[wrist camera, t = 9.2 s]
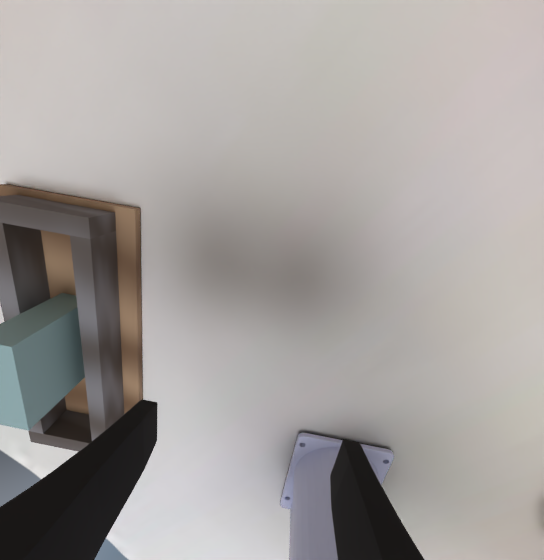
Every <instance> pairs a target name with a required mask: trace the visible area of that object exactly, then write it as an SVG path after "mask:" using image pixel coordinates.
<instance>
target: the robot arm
mask: <svg viewBox="0 0 544 560" xmlns="http://www.w3.org/2000/svg"><path fill="white" fill-rule="evenodd" d="M156 441H157V402H152V401H147V400H140V401H139V402H138V403H137V404H135V405H134V406H133V407H132V408H131V409H130V410H129V411H127V412H126V413H125V414H124V415H123V416H122V417H121V418H119V419H118V420H117V421H116V422H115V423H114V424H112V425H111V426H110V427H109V428H108V429H106V430H105V431H104V432H103V433H102V434H100V435H99V436H98V437H97V438H95V439H94V440H93V441H92V442H90V443H89V444H88V445H87V446H86V447H84V448H83V449H82V450H80V451H79V452H78V453H77V454H75V455H74V456H73V457H71V458H70V459H69V460H67V461H66V462H65V463H63V464H62V465H61V466H59V467H58V468H57V469H55V470H54V471H53V472H51V473H50V474H48V475H47V476H46V477H44V478H43V479H41V480H40V481H39V482H37V483H36V484H34V485H33V486H31V487H30V488H29V489H27V490H26V491H24V492H22V493H21V494H19V495H18V496H16V497H15V498H13V499H12V500H10V501H9V502H7V503H6V504H4V505H3V506H1V507H0V560H94V559H95V557H96V555H97V553H98V551H99V549H100V547H101V546H102V544H103V542H104V540H105V538H106V536H107V535H108V533H109V531H110V529H111V528H112V526H113V524H114V522H115V521H116V519H117V517H118V515H119V513H120V512H121V510H122V508H123V506H124V505H125V503H126V501H127V499H128V498H129V496H130V494H131V492H132V490H133V489H134V487H135V485H136V483H137V481H138V480H139V478H140V476H141V474H142V472H143V471H144V469H145V466H146V464H147V462H148V460H149V457H150V455H151V453H152V451H153V448H154V446H155V444H156ZM393 459H394V455H393V452H392V451H391V450H389V449H384V448H379V447H374V446H369V445H364V444H360V443H359V442H354V441H349V440H344V439H343V440H339V439H334V438H329V437H324V436H319V435H314V434H309V433H300V434H298V436H297V440H296V444H295V448H294V451H293V455H292V459H291V462H290V466H289V470H288V474H287V477H286V481H285V485H284V488H283V492H282V496H281V500H280V505H281V507H283V508H287V509H291V510H290V548H289V560H424V558H423V557H422V555H421V554H420V552H419V550H418V549H417V547H416V546H415V544H414V542H413V541H412V539H411V537H410V536H409V534H408V532H407V531H406V529H405V527H404V526H403V524H402V522H401V520H400V519H399V517H398V515H397V513H396V512H395V510H394V508H393V506H392V504H391V503H390V501H389V499H388V497H387V495H386V494H385V492H384V490H383V488H382V486H381V485H382V483H383V480H384V478H385V476H386V474H387V472H388V470H389V467H390V465H391V463H392V461H393Z"/></svg>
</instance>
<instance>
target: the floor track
mask: <svg viewBox="0 0 544 560" xmlns="http://www.w3.org/2000/svg"><path fill="white" fill-rule="evenodd" d="M61 293H65V294H70V295H75V296H76V298H77V307H78V317H79V326H80V335H81V344H82V354H83V363H84V372H85V378H83V379H82V380H81V381H80V382H79V383H78V384H77V385H76V386H75V387H74V388H73V389H72V390H71V391H70V392H69V393H68V394H67V395H66V396H65V397H63V398H62V399H61V400H60V401H59V402H58V403H57V404H56V405H55V406H54V407H53V408H52V409H51V410H50V411H49V412H48V413H47V414H46V415H45V416H43V417H42V418H41V419H40V420H39V421H38V422H37V423H36V424H35V425H34V426H33V427H32V428H31V429H30V430H29V435H30V439H31V442H35V443H40V444H45V445H50V446H54V447H59V448H64V449H69V450H74V451H80V450H82V449H83V448H84V447H86V446H87V445H88V444H89V443H90V442H92V441H93V440H94V439H95V438H97V437H98V436H99V435H100V434H102V433H103V432H104V431H105V430H106V429H108V428H109V427H110V426H111V425H112V424H114V423H115V422H116V421H117V420H118V419H119V418H121V417H122V416H123V415H124V414H125V413H126V412H127V411H129V410H130V409H131V408H132V407H133V406H134V405H135V404H137V403H138V402H139V401H140V400H143V389H142V310H141V232H140V208H136V207H130V206H124V205H119V204H113V203H108V202H102V201H97V200H91V199H85V198H80V197H74V196H69V195H63V194H58V193H52V192H46V191H41V190H35V189H30V188H24V187H18V186H13V185H7V184H1V185H0V303H1V307H2V312H3V316H4V321H7V320H9V319H11V318H13V317H15V316H17V315H19V314H21V313H23V312H25V311H27V310H29V309H31V308H33V307H35V306H37V305H39V304H41V303H43V302H45V301H47V300H49V299H51V298H53V297H55V296H57V295H59V294H61Z"/></svg>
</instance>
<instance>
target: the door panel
mask: <svg viewBox="0 0 544 560" xmlns="http://www.w3.org/2000/svg"><path fill="white" fill-rule="evenodd" d="M83 378H85V372H84V363H83V354H82V344H81V335H80V326H79V317H78V307H77V298H76V296H75V295H70V294H65V293H61V294H59V295H57V296H55V297H53V298H51V299H49V300H47V301H45V302H43V303H41V304H39V305H37V306H35V307H33V308H31V309H29V310H27V311H25V312H23V313H21V314H19V315H17V316H15V317H13V318H11V319H9V320H7V321H5V322H3V323H1V324H0V425H5V426H10V427H15V428H19V429H24V430H30V429H31V428H32V427H33V426H34V425H35V424H36V423H37V422H38V421H39V420H40V419H41V418H42V417H43V416H45V415H46V414H47V413H48V412H49V411H50V410H51V409H52V408H53V407H54V406H55V405H56V404H57V403H58V402H59V401H60V400H61V399H62V398H63V397H65V396H66V395H67V394H68V393H69V392H70V391H71V390H72V389H73V388H74V387H75V386H76V385H77V384H78V383H79V382H80V381H81V380H82V379H83Z"/></svg>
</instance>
